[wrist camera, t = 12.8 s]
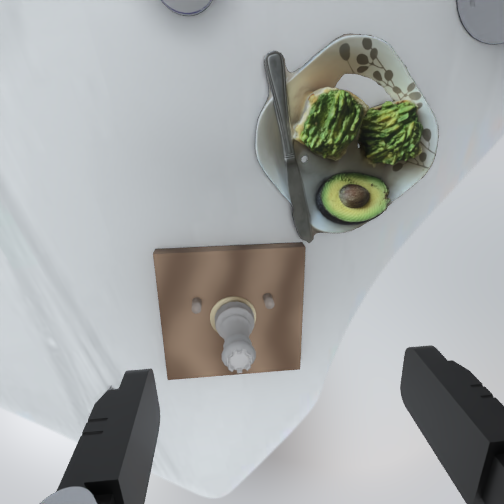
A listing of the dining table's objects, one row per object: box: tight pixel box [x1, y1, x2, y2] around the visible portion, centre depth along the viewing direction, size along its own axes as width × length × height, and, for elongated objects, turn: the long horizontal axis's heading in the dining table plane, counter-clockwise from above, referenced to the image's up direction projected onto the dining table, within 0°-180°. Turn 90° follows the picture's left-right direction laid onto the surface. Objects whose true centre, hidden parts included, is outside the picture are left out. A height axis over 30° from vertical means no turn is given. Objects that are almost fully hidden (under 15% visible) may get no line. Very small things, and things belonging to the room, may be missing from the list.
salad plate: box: [255, 34, 439, 243], centre depth 34 cm, size 19×18×5 cm
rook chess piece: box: [215, 302, 256, 374], centre depth 36 cm, size 4×4×8 cm
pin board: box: [153, 242, 305, 380], centre depth 40 cm, size 16×16×3 cm
